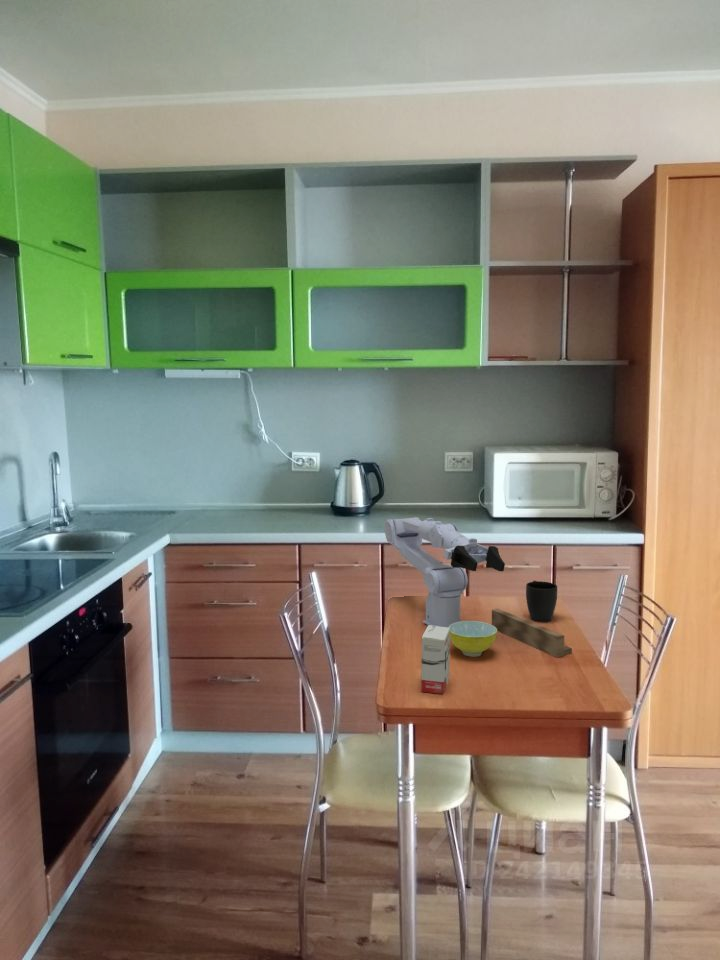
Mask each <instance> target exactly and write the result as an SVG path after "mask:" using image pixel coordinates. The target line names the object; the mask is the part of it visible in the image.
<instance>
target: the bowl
mask: <svg viewBox="0 0 720 960" xmlns="http://www.w3.org/2000/svg"><path fill="white" fill-rule="evenodd" d="M448 628H450V642H451V643H452V644H453V645H454V646H455V647H456V648H457V649H459V651H461V652H462V654H463V655H464V656H465V657H470V658H473V657H474V658H475V657H480V656H482V654H483V653H482V652H485V651H487V650H489V648H491V647H492V645H493V644H494V643H495V640H496V638H497V634H498V631H497V629H496V627H494V626H493V625H492V623H491V624H490V623H487V622H485V621H484V622H483V621H478V620H462V621H461V620H460V622H456V623H453V624H451V625H449V627H448Z"/></svg>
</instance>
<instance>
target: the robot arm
mask: <svg viewBox="0 0 720 960" xmlns="http://www.w3.org/2000/svg"><path fill="white" fill-rule="evenodd" d="M434 520H435V519H434V518H432V517H429V518H427V517H426V519H425V520H423V521H422V520H420V517H416V516H413V517H409V518H407V517H406V518H396V519H395V518H394V519H391V518H388V519H386V521H385V523H384V528H383V529H384V535H385V539H386V542H388V543H389V544H391V546H393V547H394V548H396V550H397V551H398V552H399V554H400V556H401V557H402V559H404V561H406V562H408V563H409V565H411V566H412V567H414V568H415V569H417V570H418V571H419V572H420V573H421V574H422V575H423V584H424V585H425V586H426V588H427V591H428V594H427V596H426V599H425V620H422V623H423V624H425V625H427V626H428V625H433V626H440V627H447V628H448V627H449V625H451V624H453V623H456V622H460V621H461V595H463V594H464V591H465V590H466V589H467V587H468V583H469V582H468V581H469V577H468V574H467V572H466V571H465V570H468V571H472V572H477V568H478V567H477V566H478V564H480V563H483V562H486V564H485V569H493V570H496V571H498V572H504V570H505V566H506V563H505V561H503V559H502V557H501V555H500V552H499V548H498V547H497V546H494V545H489V546H488V547H486V546H484V545H481V544H479V543H478V539H477V538H475V537H470V538H468V537H466V536H465V535H464V534H462V533H460V532H459V530H458V527H457V525H456V524H454V523H453V522H450V523H445V524H444V523H442V521H440V520H438V521H434ZM423 540H425V541H427V542H428V543H430V544H431V546H432V548H438V547H439V548H442V549H443V550H444V552H443V558H445V559H446V560H449V561H450V564H445V563H442V562H441V561H439V560H438V559H437V558H435V557H434V556H433V555H432V554H430V553H429V552H427V550H424V548H422V547H421V546H422V545H423Z"/></svg>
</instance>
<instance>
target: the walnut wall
mask: <svg viewBox="0 0 720 960" xmlns="http://www.w3.org/2000/svg"><path fill="white" fill-rule="evenodd" d="M491 625H493V626H494V627H496V629H497V632H500V633H501V634H503V635H506V636H508V637H510V638H513V639H515V640H517V641H519V642H521V643H523V644H526V645H528V646H530V647H533V648H535V649H538V650H539V651H541V652H543V653H546V654H548V655H551V656H552V657H554V658H557V659H558V658H561V656H562V657H564V656H566V655H571V654H572V652H573V650H572V649H573V648H572V647H569V646H568V645H565V635H564V634H561V633H559V632H557V631H554V630H551V629H549V628H547V627H544V626H543V625H542V626H541V625H539V624H537V623H534V622H532V621H529V620H527V619H525V618H522V617H520V616H517V615H516V614H512V613H509V612H507V611H504V610H502V609H500V608H494V609H491ZM565 654H566V655H565Z"/></svg>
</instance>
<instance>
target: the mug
mask: <svg viewBox="0 0 720 960" xmlns="http://www.w3.org/2000/svg"><path fill="white" fill-rule="evenodd" d="M525 597H526V598H525V599H526V605H527V610H528V613H529V616H530V620H532V621H533V622H537V623H547V622H551V621H552V619H553V615H554V612H555V610H556V606H557V601H558V600H557V599H558V585H557V584H555V583H553V582H549V581H539V580H532V581H530V582H527V583H526V586H525Z"/></svg>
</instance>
